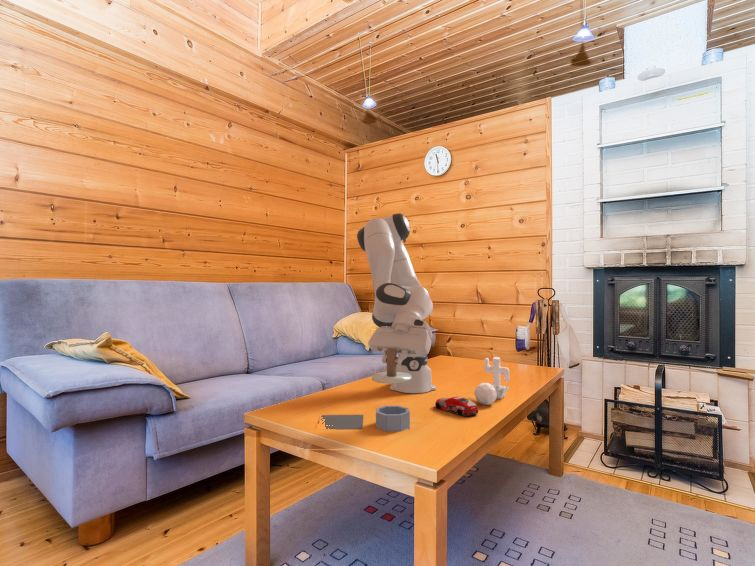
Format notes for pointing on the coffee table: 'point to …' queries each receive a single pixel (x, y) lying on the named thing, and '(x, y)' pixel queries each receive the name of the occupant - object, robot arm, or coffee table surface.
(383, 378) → the lid
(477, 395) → the geometric ball
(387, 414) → the bowl
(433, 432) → the coffee table surface
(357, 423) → the mat
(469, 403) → the race car
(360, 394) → the coffee table surface
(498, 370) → the figurine
